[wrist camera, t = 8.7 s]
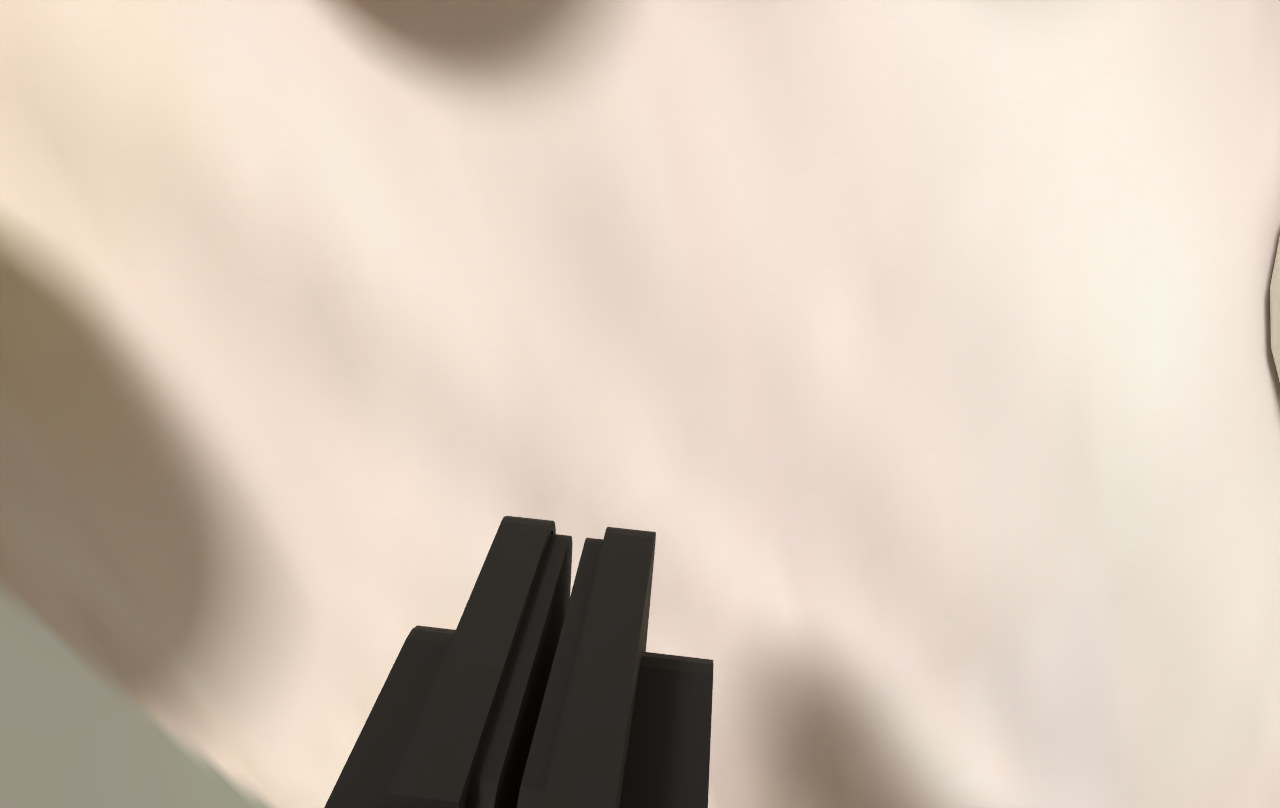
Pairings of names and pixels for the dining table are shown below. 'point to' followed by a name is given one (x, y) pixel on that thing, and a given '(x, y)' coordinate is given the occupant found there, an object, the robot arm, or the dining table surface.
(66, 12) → the dining table surface
